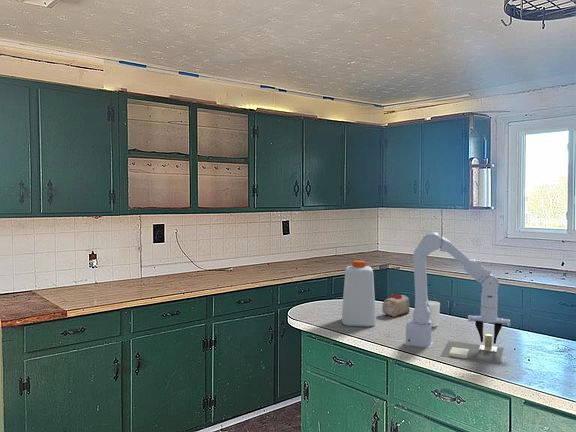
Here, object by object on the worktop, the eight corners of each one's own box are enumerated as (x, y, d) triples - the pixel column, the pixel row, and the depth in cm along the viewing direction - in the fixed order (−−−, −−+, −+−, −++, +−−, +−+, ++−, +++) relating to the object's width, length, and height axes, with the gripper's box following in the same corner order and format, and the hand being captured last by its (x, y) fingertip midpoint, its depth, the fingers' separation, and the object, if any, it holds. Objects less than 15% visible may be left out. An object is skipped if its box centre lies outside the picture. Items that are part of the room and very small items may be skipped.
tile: (452, 350, 189) (449, 356, 183) (452, 346, 189) (449, 352, 183) (469, 353, 187) (466, 358, 181) (469, 349, 187) (466, 355, 180)
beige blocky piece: (478, 350, 189) (479, 336, 189) (480, 346, 195) (480, 331, 194) (496, 353, 187) (496, 338, 186) (497, 348, 192) (497, 333, 192)
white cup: (427, 328, 221) (427, 305, 220) (417, 323, 229) (418, 301, 228) (443, 326, 223) (443, 304, 223) (433, 322, 231) (433, 300, 230)
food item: (395, 318, 237) (395, 297, 236) (380, 315, 243) (381, 294, 242) (411, 313, 247) (411, 293, 246) (397, 310, 252) (397, 290, 252)
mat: (440, 357, 183) (440, 356, 183) (448, 342, 201) (448, 340, 201) (500, 366, 175) (500, 364, 175) (503, 349, 193) (503, 347, 193)
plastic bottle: (374, 318, 237) (374, 258, 235) (376, 327, 222) (377, 264, 220) (341, 317, 238) (342, 258, 237) (341, 326, 223) (342, 263, 222)
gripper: (510, 306, 190) (509, 341, 191) (469, 302, 196) (469, 336, 197) (510, 310, 183) (509, 347, 184) (467, 306, 190) (466, 341, 191)
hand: (488, 342), depth 190 cm, fingers open, 4 cm apart
